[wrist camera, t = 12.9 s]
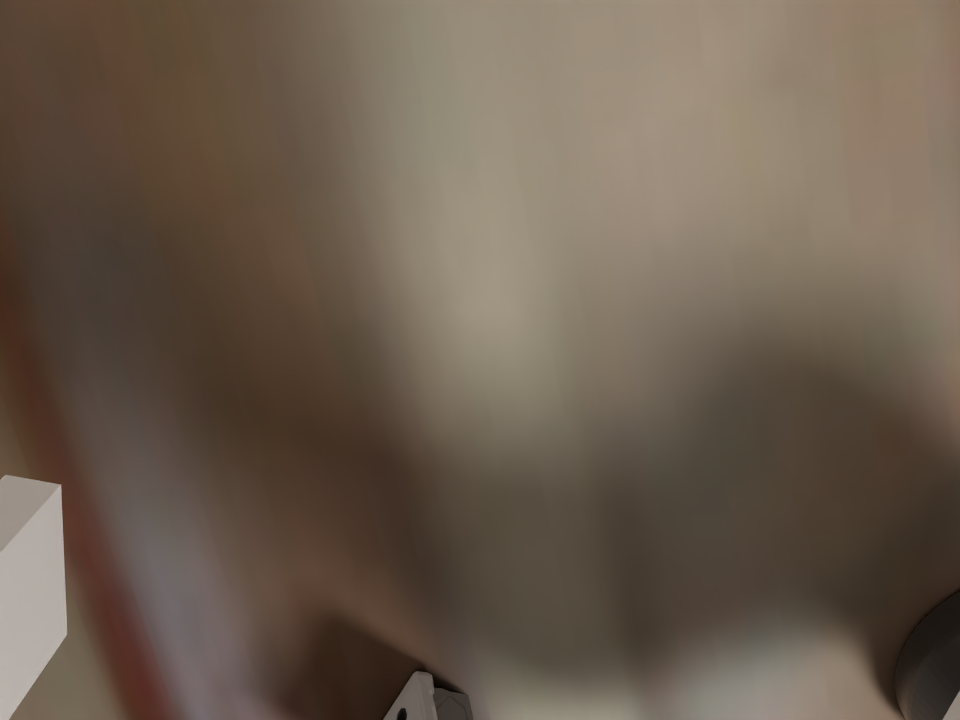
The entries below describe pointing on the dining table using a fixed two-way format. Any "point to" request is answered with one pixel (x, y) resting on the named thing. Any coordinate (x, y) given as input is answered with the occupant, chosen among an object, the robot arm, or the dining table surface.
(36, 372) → the dining table surface
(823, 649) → the dining table surface
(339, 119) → the dining table surface
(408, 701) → the electrical switch
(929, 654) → the robot arm
